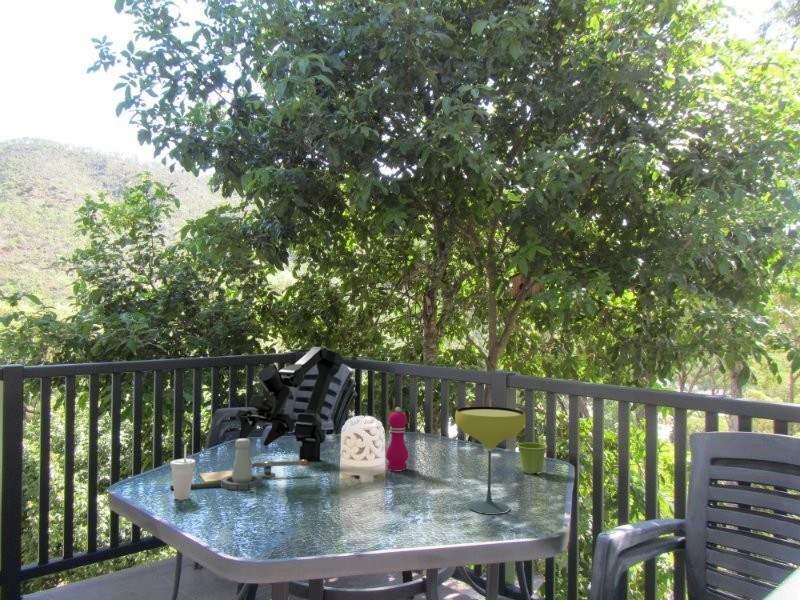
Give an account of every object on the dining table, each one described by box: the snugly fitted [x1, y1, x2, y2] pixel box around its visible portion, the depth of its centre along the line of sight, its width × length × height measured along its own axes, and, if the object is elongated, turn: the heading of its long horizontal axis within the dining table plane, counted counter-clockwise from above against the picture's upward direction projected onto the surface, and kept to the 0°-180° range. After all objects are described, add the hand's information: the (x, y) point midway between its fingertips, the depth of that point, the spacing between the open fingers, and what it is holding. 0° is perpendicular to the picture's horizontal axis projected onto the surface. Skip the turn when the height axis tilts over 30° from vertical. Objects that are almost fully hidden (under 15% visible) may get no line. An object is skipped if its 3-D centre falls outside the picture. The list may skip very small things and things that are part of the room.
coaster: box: [198, 469, 233, 483], centre depth 187 cm, size 10×10×1 cm
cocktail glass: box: [454, 406, 527, 513], centre depth 162 cm, size 18×18×25 cm
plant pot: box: [516, 442, 548, 473], centre depth 200 cm, size 9×9×9 cm
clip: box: [251, 459, 308, 469], centre depth 191 cm, size 17×3×2 cm, turn 103°
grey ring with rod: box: [169, 474, 263, 491], centre depth 178 cm, size 25×11×2 cm, turn 107°
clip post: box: [258, 467, 276, 479], centre depth 190 cm, size 5×5×3 cm
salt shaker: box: [232, 437, 253, 483], centre depth 180 cm, size 6×6×13 cm
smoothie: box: [169, 444, 196, 501], centre depth 166 cm, size 6×6×14 cm
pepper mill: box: [385, 406, 409, 470], centre depth 202 cm, size 7×7×20 cm
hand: (252, 443), depth 184 cm, fingers open, 9 cm apart
